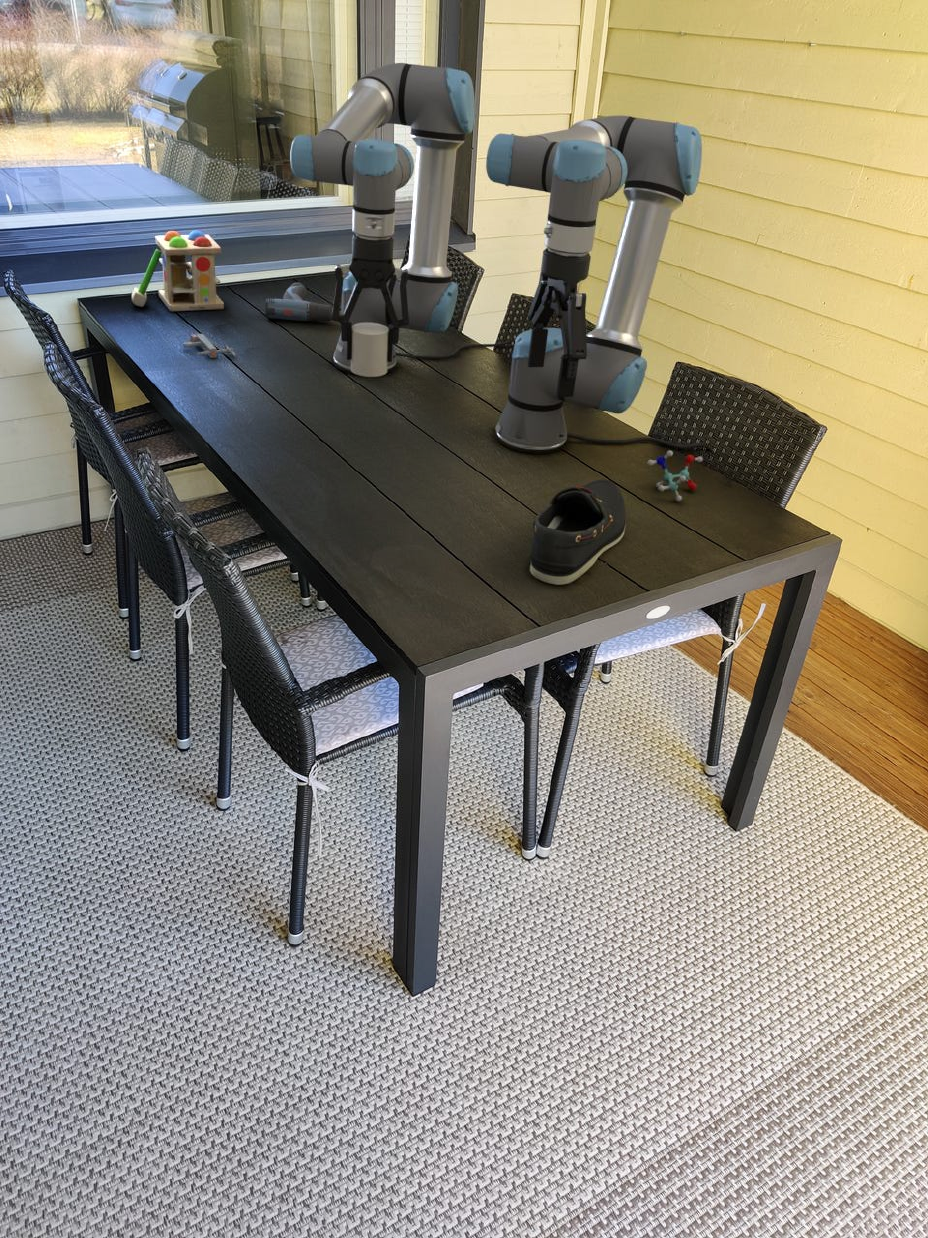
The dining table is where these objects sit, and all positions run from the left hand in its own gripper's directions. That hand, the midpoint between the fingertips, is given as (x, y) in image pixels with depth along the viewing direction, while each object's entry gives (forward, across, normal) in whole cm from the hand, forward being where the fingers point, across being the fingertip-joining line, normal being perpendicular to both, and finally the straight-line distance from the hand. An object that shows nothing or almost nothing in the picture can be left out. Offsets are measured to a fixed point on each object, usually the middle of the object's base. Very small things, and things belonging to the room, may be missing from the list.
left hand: (369, 358), depth 190 cm
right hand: (-8, +30, -30) cm, 43 cm away
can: (+2, 0, 0) cm, 2 cm away
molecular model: (+18, +60, -16) cm, 64 cm away
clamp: (+18, -38, +49) cm, 64 cm away
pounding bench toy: (+18, -51, +85) cm, 101 cm away
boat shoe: (+18, +37, -38) cm, 56 cm away
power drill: (+18, -16, +84) cm, 87 cm away
